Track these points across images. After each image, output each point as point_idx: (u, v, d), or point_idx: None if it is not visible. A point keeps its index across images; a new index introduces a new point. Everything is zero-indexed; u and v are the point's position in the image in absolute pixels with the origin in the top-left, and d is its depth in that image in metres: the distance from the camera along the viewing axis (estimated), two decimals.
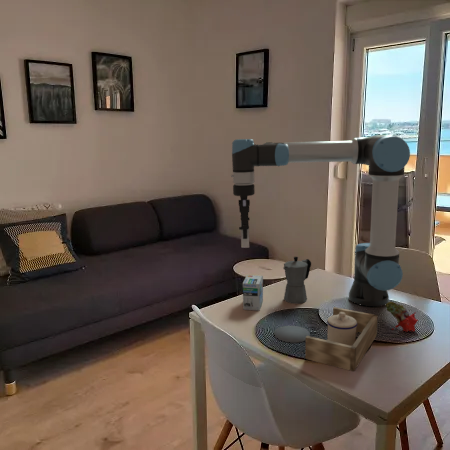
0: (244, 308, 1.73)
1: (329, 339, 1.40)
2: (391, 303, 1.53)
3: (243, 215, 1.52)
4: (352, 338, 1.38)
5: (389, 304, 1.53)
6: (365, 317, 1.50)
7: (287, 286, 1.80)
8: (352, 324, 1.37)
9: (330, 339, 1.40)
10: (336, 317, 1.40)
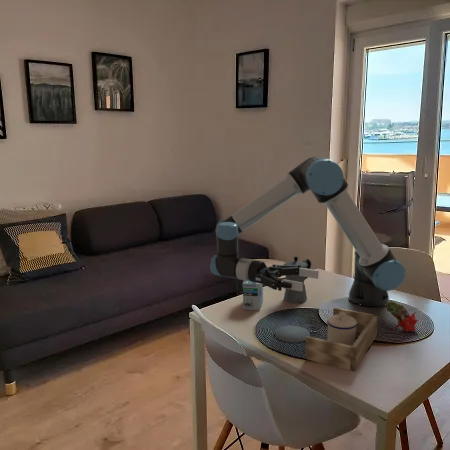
0: (244, 308, 1.73)
1: (329, 339, 1.40)
2: (391, 303, 1.53)
3: (266, 283, 1.44)
4: (352, 338, 1.38)
5: (389, 304, 1.53)
6: (365, 317, 1.50)
7: None
8: (352, 324, 1.37)
9: (330, 339, 1.40)
10: (336, 317, 1.40)
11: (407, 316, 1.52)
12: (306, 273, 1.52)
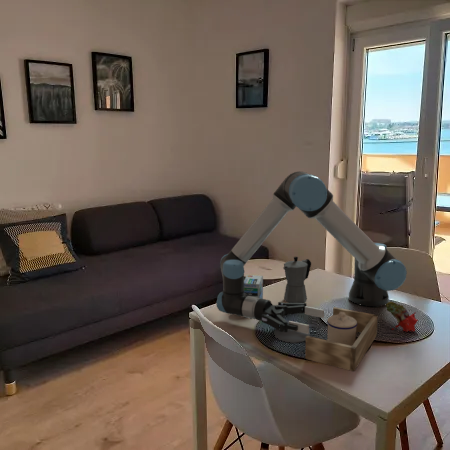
0: None
1: (329, 339, 1.40)
2: (391, 303, 1.53)
3: (272, 324, 1.45)
4: (352, 338, 1.38)
5: (389, 304, 1.53)
6: (365, 317, 1.50)
7: (287, 286, 1.80)
8: (352, 324, 1.37)
9: (330, 339, 1.40)
10: (336, 317, 1.40)
11: (407, 316, 1.52)
12: (312, 312, 1.53)
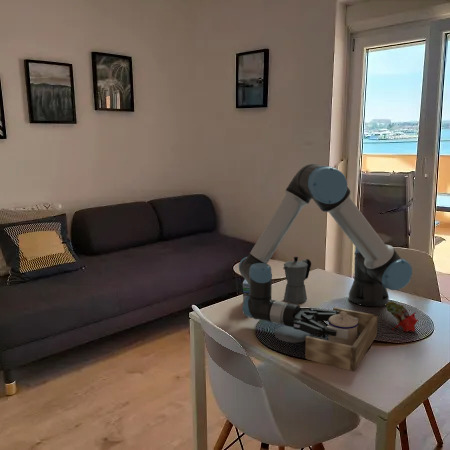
0: None
1: (330, 339, 1.41)
2: (391, 303, 1.53)
3: (308, 330, 1.40)
4: (353, 337, 1.39)
5: (389, 304, 1.53)
6: (365, 317, 1.50)
7: (287, 286, 1.80)
8: (353, 324, 1.37)
9: (331, 338, 1.40)
10: (337, 316, 1.40)
11: (407, 316, 1.52)
12: None
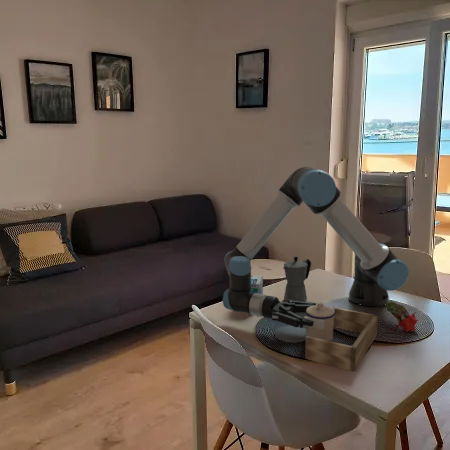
0: None
1: (308, 329, 1.44)
2: (391, 303, 1.53)
3: (285, 321, 1.43)
4: (330, 327, 1.42)
5: (389, 304, 1.53)
6: (365, 317, 1.50)
7: (287, 286, 1.80)
8: (330, 314, 1.41)
9: (309, 329, 1.43)
10: (314, 307, 1.43)
11: (407, 316, 1.52)
12: None
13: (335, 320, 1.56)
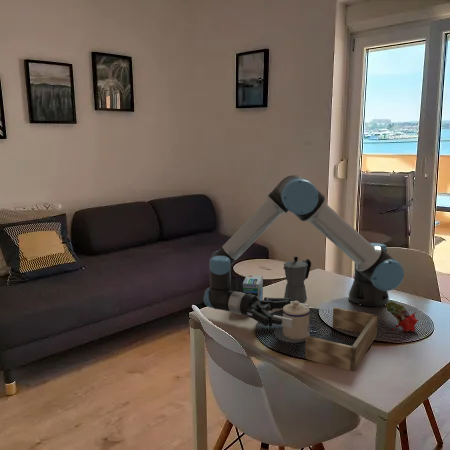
0: None
1: (284, 326, 1.49)
2: (391, 303, 1.53)
3: (257, 318, 1.48)
4: (305, 325, 1.47)
5: (389, 304, 1.53)
6: (365, 317, 1.50)
7: (287, 286, 1.80)
8: (305, 312, 1.46)
9: (285, 326, 1.48)
10: (290, 305, 1.49)
11: (407, 316, 1.52)
12: None
13: (335, 320, 1.56)
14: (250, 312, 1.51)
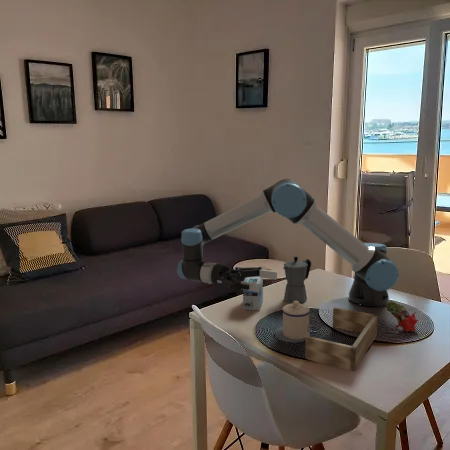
0: (244, 308, 1.73)
1: (284, 326, 1.49)
2: (391, 303, 1.53)
3: (226, 285, 1.53)
4: (305, 325, 1.47)
5: (389, 304, 1.53)
6: (365, 317, 1.50)
7: (287, 286, 1.80)
8: (305, 312, 1.46)
9: (285, 326, 1.48)
10: (290, 306, 1.49)
11: (407, 316, 1.52)
12: (266, 274, 1.61)
13: (335, 320, 1.56)
14: (220, 280, 1.56)
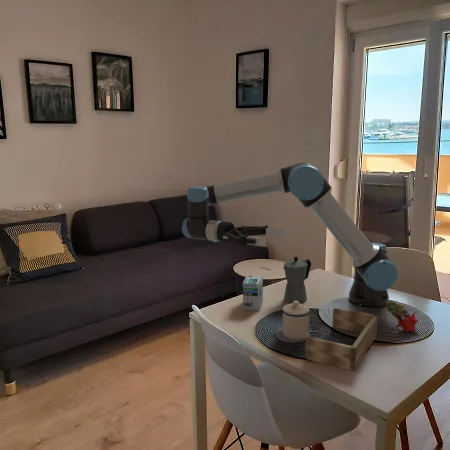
0: (244, 308, 1.73)
1: (284, 326, 1.49)
2: (391, 303, 1.53)
3: (232, 240, 1.51)
4: (305, 325, 1.47)
5: (389, 304, 1.53)
6: (365, 317, 1.50)
7: (287, 286, 1.80)
8: (305, 312, 1.46)
9: (285, 326, 1.48)
10: (290, 306, 1.49)
11: (407, 316, 1.52)
12: (272, 233, 1.59)
13: (335, 320, 1.56)
14: (225, 235, 1.54)
